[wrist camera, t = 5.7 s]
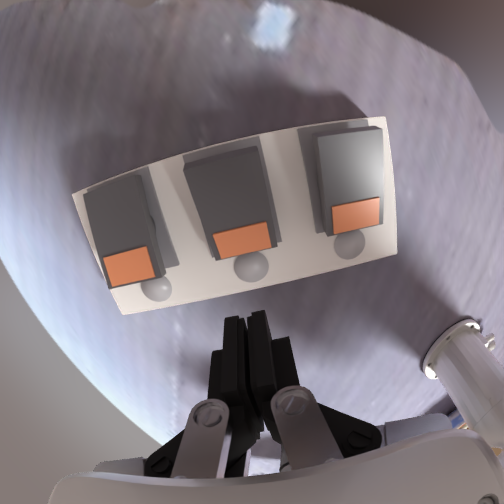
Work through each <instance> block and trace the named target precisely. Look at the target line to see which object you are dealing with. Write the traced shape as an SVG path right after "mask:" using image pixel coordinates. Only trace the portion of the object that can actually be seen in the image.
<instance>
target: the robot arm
mask: <svg viewBox="0 0 504 504" xmlns="http://www.w3.org/2000/svg"><path fill="white" fill-rule="evenodd" d="M247 325H248V330H247V326H246V323H245V320H244V318H240V319H239V316H238V315H237V316H232V317H227V318H225V320H224V336H223V349H222V350H216V351H213V352H212V356H211V366H210V376H209V387H208V398H207V399H206V400H204V401H201V402H199V403H198V404H196V405H195V406H194V407H193V408H192V410H191V412H190V414H189V417H188V421H187V424H186V427H185V429H184V430H183V431H181V432H180V433H179V434H178V435H176V436H175V437H174V438H172V439H171V440H170V441H169V442H167V443H166V444H165V445H163V446H162V447H161V448H159V449H158V450H157V451H155V452H154V453H153V454H152V455H150V456H149V457H148V458H146V459H145V458H143V457H138V458H131V459H122V460H114V461H104V462H100V463H99V464H98V465H96V467H95V468H94V470H93V472H82V473H76V474H72V475H68V476H66V477H64V478H62V479H61V480H59V481H58V483H57V484H56V486H55V487H54V489H53V491H52V493H51V496H50V498H49V501H48V504H504V368H503V366H502V365H501V364H500V363H499V362H498V360H497V359H496V358H495V357H494V355H493V354H492V353H491V352H490V351H491V350H493V349H494V348H495V342H494V334H493V333H490V334H489V335H487V336H486V337H483V336H482V335H481V334H480V326H479V325H478V323H477V322H476V321H474V320H472V319H467V320H463V321H461V322H458V323H456V324H455V325H453V326H452V327H450V328H449V329H448V330H447V331H445V332H444V333H443V334H442V335H441V336H440V337H439V338H438V339H437V340H436V341H435V343H434V344H433V345H432V347H431V348H430V350H429V351H428V353H427V355H426V357H425V359H424V362H423V372H424V374H425V375H426V377H428V378H429V379H439V380H440V382H441V383H442V385H443V386H444V388H445V389H446V391H447V393H448V394H449V396H450V397H451V399H452V401H453V402H454V404H455V406H456V407H457V409H458V411H459V412H460V414H461V416H462V417H463V419H464V421H465V423H466V424H467V426H468V428H469V429H453V427H452V423H451V421H450V419H449V417H447V416H446V415H445V414H442V413H431V414H427V415H423V416H418V417H413V418H408V419H403V420H397V421H391V422H385V425H379V426H374V425H372V424H370V423H368V422H365V421H362V420H359V419H357V418H354V417H352V416H349V415H346V414H344V413H341V412H339V411H336V410H334V409H332V408H329V407H327V406H324V405H322V404H320V403H317V402H316V399H315V397H314V395H313V394H312V392H311V391H310V390H309V389H307V388H305V387H302V386H300V384H299V379H298V375H297V370H296V366H295V361H294V357H293V353H292V348H291V344H290V339H289V336H288V337H284V338H279V339H274V340H272V337H271V333H270V329H269V325H268V321H267V317H266V313H265V310H261V311H257V312H252V316H250V317H247ZM263 420H264V421H263ZM264 422H265V425H266V427H267V429H268V431H270V433H271V436H272V438H273V440H275V441H276V442H278V443H280V444H282V445H283V446H284V449H285V452H286V455H287V458H288V461H289V464H290V467H291V470H292V471H286V472H280V473H273V474H265V475H257V476H248V472H249V464H250V457H251V447H252V446H253V445H254V444H255V443H256V440H257V439H260V432H263V431H264ZM491 447H495V448H500V449H502V452H501V453H500V454H499V455H498V456H496V455H495V453H494V451H493V450H492V448H491Z"/></svg>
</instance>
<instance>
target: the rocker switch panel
mask: <svg viewBox="0 0 504 504" xmlns="http://www.w3.org/2000/svg"><path fill="white" fill-rule="evenodd" d="M365 126H377V127H379V128H382V129H383V146H384V215H383V224H381V225H377V226H372V227H368V228H364V229H359V230H355V231H351V232H346V233H342V234H338V235H333V236H329V237H327V235H326V233H325V231H324V230H323V221H322V211H321V200H320V191H319V188H318V184H317V174H318V173H317V165H316V157H315V150H314V143H313V136H312V134H313V133H319V132H326V131H333V130H340V129H348V128H356V127H365ZM251 146H257V148H258V151H259V155H260V160H261V164H262V169H263V174H264V179H265V184H266V189H267V193H268V198H269V203H270V209H271V214H272V219H273V224H274V229H275V234H276V239H277V245H278V247H275V248H271V249H266V250H262V251H258V252H253V253H249V254H244V255H240V256H236V257H231V258H227V259H223V260H218V261H216V260H215V257H214V255H213V252H212V249H211V247H210V244H209V241H208V239H207V236H206V233H205V231H204V228H203V225H202V223H201V220H200V217H199V214H198V212H197V209H196V206H195V203H194V201H193V198H192V195H191V192H190V189H189V187H188V184H187V181H186V178H185V175H184V172H183V168H184V164H185V163H189V162H192V161H196V160H199V159H203V158H207V157H210V156H214V155H218V154H222V153H226V152H230V151H234V150H238V149H243V148H247V147H251ZM135 174H136V175H141V177H142V182H143V186H144V191H145V195H146V199H147V203H148V208H149V212H150V215H151V216H152V218H153V220H154V222H155V226H156V233H155V235H156V238H157V242H158V246H159V249H160V253H161V256H162V260H163V263H164V266H165V270H166V274H165V275H164V276H163V277H162V278H158V279H154V280H149V281H145V282H140V283H136V284H131V285H127V286H122V287H118V288H113V289H110V291H111V293H112V295H113V297H114V299H115V301H116V303H117V305H118V307H119V309H120V311H121V313H122V315H127V314H132V313H138V312H143V311H149V310H154V309H160V308H165V307H170V306H176V305H181V304H186V303H191V302H196V301H201V300H206V299H211V298H216V297H220V296H225V295H230V294H235V293H239V292H244V291H249V290H253V289H258V288H262V287H267V286H271V285H275V284H280V283H284V282H288V281H293V280H297V279H301V278H305V277H309V276H314V275H318V274H322V273H326V272H330V271H334V270H338V269H342V268H346V267H350V266H354V265H357V264H361V263H365V262H369V261H373V260H376V259H380V258H384V257H387V256H391V255H395V254H397V222H396V202H395V188H394V176H393V167H392V158H391V150H390V143H389V136H388V129H387V123H386V118H385V117H368V118H357V119H348V120H340V121H332V122H325V123H318V124H311V125H305V126H299V127H293V128H287V129H282V130H276V131H271V132H266V133H262V134H257V135H252V136H248V137H243V138H239V139H235V140H230V141H226V142H222V143H218V144H215V145H211V146H207V147H203V148H200V149H196V150H193V151H189V152H186V153H182V154H179V155H176V156H172V157H169V158H166V159H163V160H160V161H157V162H153V163H150V164H147V165H145V166H142V167H139V168H136V169H133V170H130V171H127V172H125V173H122V174H119V175H117V176H114V177H111V178H109V179H106V180H104V181H101V182H99V183H96V184H94V185H91V186H89V187H87V188H84V189H82V190H80V191H78V192H76V193H74V194H72V197H73V200H74V203H75V206H76V209H77V211H78V214H79V217H80V220H81V223H82V225H83V228H84V231H85V233H86V236H87V238H88V241H89V243H90V246H91V248H92V251H93V253H94V256H95V258H96V260H97V263H98V265H99V267H100V269H101V272H102V274H103V276H104V273H103V270H102V267H101V263H100V260H99V257H98V253H97V250H96V246H95V243H94V239H93V235H92V232H91V228H90V224H89V220H88V215H87V211H86V207H85V202H84V198H83V194H85V193H87V192H90V191H92V190H95V189H97V188H100V187H102V186H105V185H108V184H110V183H113V182H115V181H118V180H121V179H124V178H126V177H129V176H132V175H135ZM104 278H105V276H104ZM105 280H106V279H105ZM106 283H107V282H106Z"/></svg>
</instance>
